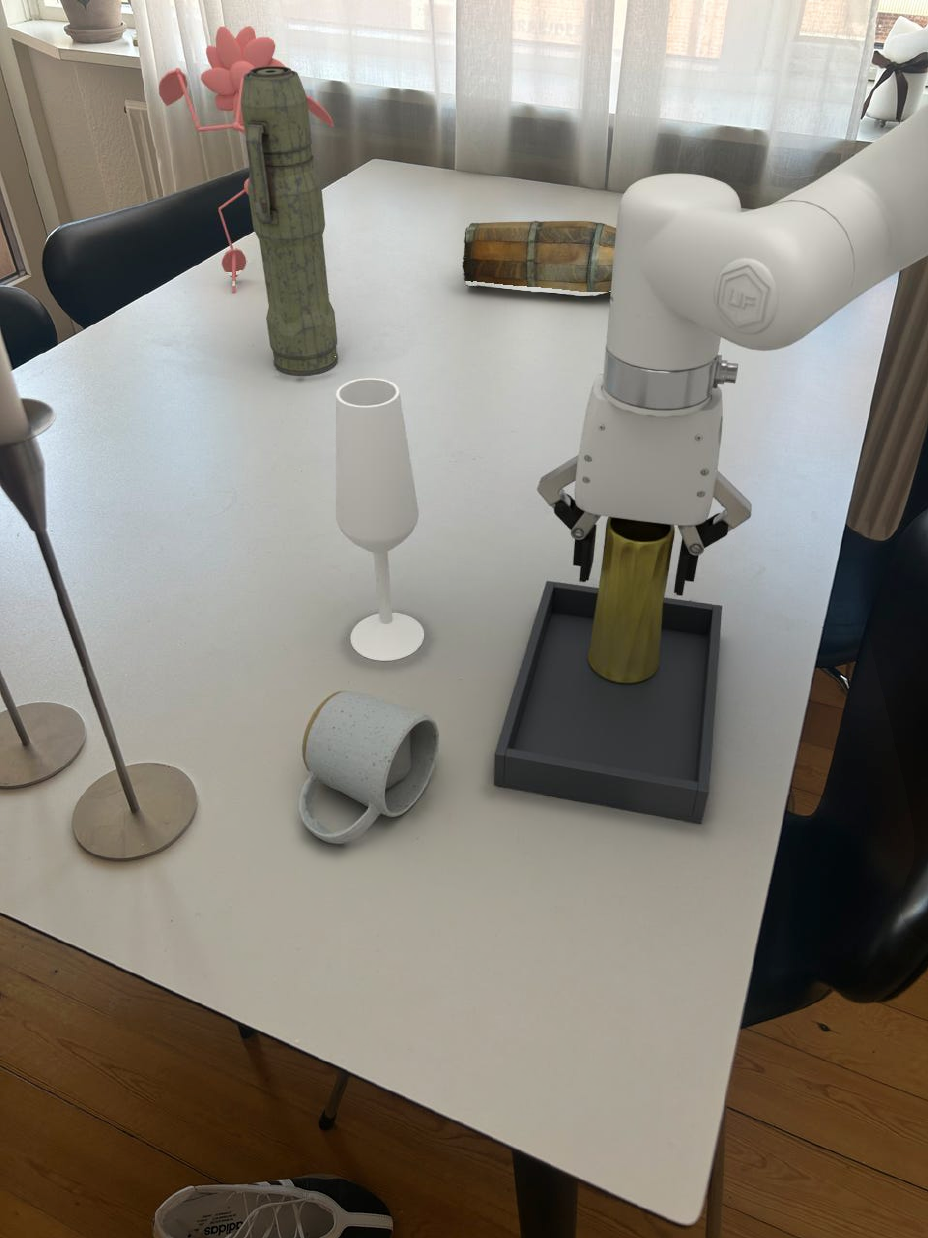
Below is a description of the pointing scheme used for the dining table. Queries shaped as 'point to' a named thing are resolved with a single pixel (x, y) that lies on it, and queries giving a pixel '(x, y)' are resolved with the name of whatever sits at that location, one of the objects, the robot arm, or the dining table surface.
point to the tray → (613, 713)
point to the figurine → (230, 96)
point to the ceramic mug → (366, 758)
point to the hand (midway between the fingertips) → (632, 577)
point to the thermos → (288, 221)
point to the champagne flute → (376, 502)
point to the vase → (631, 600)
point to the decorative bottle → (541, 254)
